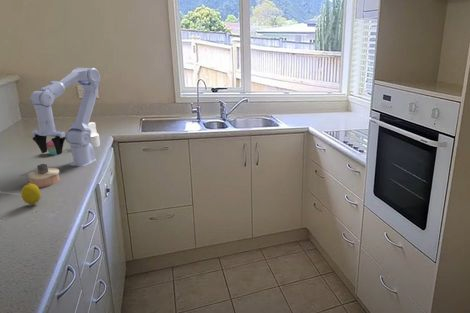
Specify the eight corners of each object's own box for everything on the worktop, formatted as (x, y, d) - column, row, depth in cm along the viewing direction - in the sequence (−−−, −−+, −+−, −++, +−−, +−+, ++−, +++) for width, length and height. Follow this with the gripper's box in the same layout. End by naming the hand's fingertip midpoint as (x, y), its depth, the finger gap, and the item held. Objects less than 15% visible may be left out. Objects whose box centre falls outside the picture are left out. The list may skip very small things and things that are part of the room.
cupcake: (61, 150, 174) (57, 128, 171) (67, 153, 169) (63, 130, 165) (43, 154, 169) (38, 131, 165) (49, 157, 163) (44, 134, 159)
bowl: (44, 177, 139) (43, 169, 138) (65, 179, 137) (63, 171, 136) (24, 186, 130) (22, 178, 129) (46, 189, 128) (44, 180, 126)
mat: (42, 166, 151) (41, 165, 151) (63, 169, 148) (63, 168, 148) (20, 176, 140) (20, 175, 140) (43, 178, 137) (42, 177, 137)
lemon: (45, 201, 118) (41, 180, 115) (37, 208, 113) (32, 186, 110) (29, 201, 118) (24, 180, 115) (20, 208, 112) (15, 186, 110)
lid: (43, 168, 139) (41, 159, 137) (65, 170, 136) (63, 161, 135) (20, 178, 129) (18, 168, 127) (44, 181, 126) (42, 171, 125)
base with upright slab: (93, 148, 177) (90, 126, 173) (78, 147, 179) (75, 125, 175) (103, 143, 186) (100, 122, 182) (88, 143, 187) (85, 122, 183)
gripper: (23, 122, 133) (30, 154, 138) (53, 124, 130) (59, 157, 134) (37, 118, 140) (43, 149, 144) (66, 120, 136) (71, 152, 140)
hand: (52, 153), depth 139 cm, fingers open, 7 cm apart
